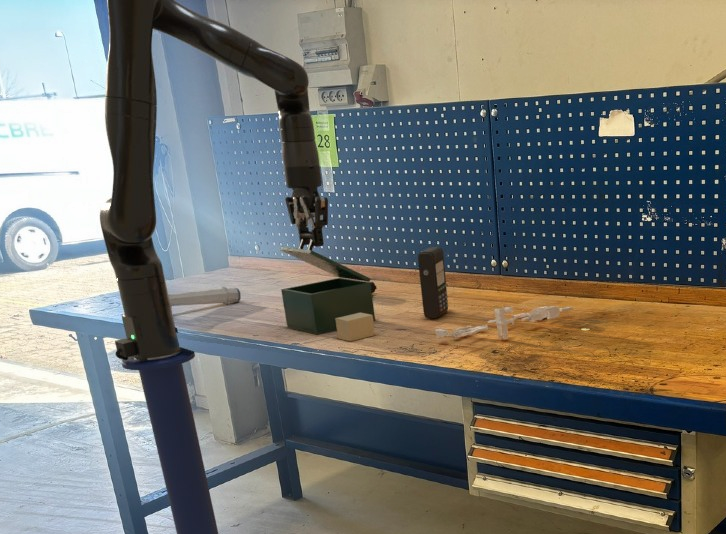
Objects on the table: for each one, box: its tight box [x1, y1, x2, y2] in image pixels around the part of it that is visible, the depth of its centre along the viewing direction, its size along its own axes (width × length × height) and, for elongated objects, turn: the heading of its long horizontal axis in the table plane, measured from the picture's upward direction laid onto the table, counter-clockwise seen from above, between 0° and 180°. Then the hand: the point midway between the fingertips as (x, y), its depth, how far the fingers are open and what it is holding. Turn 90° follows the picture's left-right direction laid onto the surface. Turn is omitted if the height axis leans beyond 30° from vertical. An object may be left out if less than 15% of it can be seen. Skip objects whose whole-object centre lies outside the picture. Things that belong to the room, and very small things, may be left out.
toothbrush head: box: [168, 286, 242, 310], centre depth 219 cm, size 5×7×25 cm
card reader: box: [417, 246, 449, 319], centre depth 194 cm, size 9×4×15 cm, turn 168°
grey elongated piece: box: [434, 305, 574, 341], centre depth 177 cm, size 6×35×12 cm
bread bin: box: [280, 277, 376, 335], centre depth 194 cm, size 16×13×9 cm
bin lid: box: [280, 230, 371, 282], centre depth 191 cm, size 16×13×6 cm
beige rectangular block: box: [335, 313, 376, 342], centre depth 181 cm, size 6×5×4 cm
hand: (312, 245), depth 187 cm, fingers closed on bin lid, 5 cm apart
